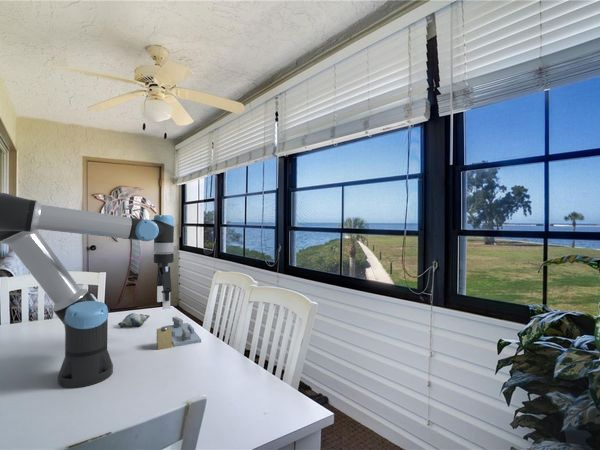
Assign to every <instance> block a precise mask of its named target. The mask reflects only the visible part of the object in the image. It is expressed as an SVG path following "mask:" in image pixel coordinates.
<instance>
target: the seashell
mask: <svg viewBox="0 0 600 450" xmlns="http://www.w3.org/2000/svg"><path fill="white" fill-rule="evenodd" d="M149 318H150V314H142V313H140V314H138V313H135V312H134V313H133V312H132V313H129V314H128V315H126V316H125V317H124V318H123V320H122V321H120V322H118V323H117V325H118V326H119V327H121V328H122V327H125V326H126V327H128V326H131V327H133V328H139V327H142V326H143V325H144V324H145V322H147V320H148V319H149Z"/></svg>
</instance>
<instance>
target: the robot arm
mask: <svg viewBox="0 0 600 450" xmlns="http://www.w3.org/2000/svg"><path fill="white" fill-rule="evenodd" d="M174 219H175V217H174V216H172V215H168V214H166V215H165V214H164V215H162V214H155V215H154V216H153V219H147V218H146V219H142V218H137V217H130V216H129V217H128V216H123V215H115V214H107V213H101V212H96V211H89V210H88V211H87V210H80V209H74V208H67V207H61V206H52V205H46V204H41V203H40V202H39V201H38V200H34V199H30V198H29V199H28V198H24V197H19V196H16V195H13V194H10V193H5V192H0V244H5V245H8V246H9V248H10V249H11V250H12V251H13V253H14V254H15V255H16V256H17V257H18V260H20V261H21V263H22V265H24V267H25V268H26V269H27V270H28V272H29V273H30V275H31V276H32V277H33V278H34V279H35V280H36V282H37V283H38V284H39V286H40V288H41V289H42V290H43V291H44V292H45V294H46V295H47V296H48V297H49V299H50V300H51V301H52V303H53V307H52V312H53V313H54V314H55V315H56V317H57V318H58V319H59V320H60V321H61V323H62V324H63V326H64V332H65V333H64V335H65V336H64V337H65V338H64V358H63V361H62V364H61V366H60V369H59V372H58V375H57V384H58V385H59V386H60V387H64V388H72V389H73V388H81V387H82V388H84V387H87V386H91V385H95V384H98V383H101V382H102V381H105V380H106V379H108V378H110V377H111V376H112V375H113V373H114V364H113V361H112V359H111V355H110V353H109V350H108V332H109V331H108V318H109V309H108V306H107V304H106V303H105V302H102V301H98V300H97V301H96V299H95V298H94V296H93V295H92V294H91V293H90V291H89V290H88V289H86V288H82V287H80V286H79V284H78V283H77V282H76V281H75V280H74V278H73V277H72V276H71V274H70V273H69V271H68V270H67V268H66V267H65V266H64V265H63V263H62V262H61V260H60V259H59V258H58V256H57V255H56V253H54V251H53V249H52V248H51V247H50V246H49V244H48V243H47V242H46V241H45V239H44V237H43V236H42V234H40V232H39V230H40V231H41V230H42V231H50V232H58V233H59V232H61V233H69V234H79V235H89V236H97V237H98V236H99V237H108V238H117V239H123V240H133V241H134V240H135V241H142V242H150V241H153V252H154V254H153V263H155V264H157V272H156V281H155V283H156V286H157V287H156V291H157V292H156V302H157V303H161V302H162V310H170V309H171V292H172V291H173V289H172V278H171V267H170V265H169V264H172V263H174V261H175V260H174V257H175V254H174V253H173V252H174V249H175V248H174V247H176V244H175V238H174V237H175V235H174V234H175V220H174Z"/></svg>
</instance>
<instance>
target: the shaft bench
mask: <svg viewBox="0 0 600 450" xmlns="http://www.w3.org/2000/svg"><path fill="white" fill-rule="evenodd" d="M171 319H172V322H173V324H171V325H170V324H169V325H164V326H163V327H170V328H171V330H172V346H173V347H174V348H175V347H180V346H186V345H187V346H188V345H192V344H198V343H199V344H200V343H202V339H201V336H199V334H198V333H197V332H196V331H195V328H194V327H193V326H192V324H191V323H188V322H185V323H184V320H183V319H182V318H180V317H178V316H173V317H172V318H171Z"/></svg>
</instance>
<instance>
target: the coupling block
mask: <svg viewBox="0 0 600 450" xmlns="http://www.w3.org/2000/svg"><path fill="white" fill-rule="evenodd" d="M172 346H173V344H172V330H171V328H170V327H164V326H162V327H160V328H156V348H157V350H158V351H160V350H166V349H172Z"/></svg>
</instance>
